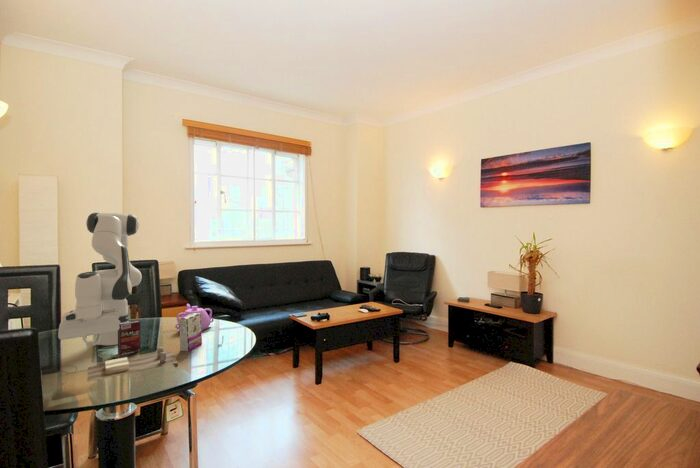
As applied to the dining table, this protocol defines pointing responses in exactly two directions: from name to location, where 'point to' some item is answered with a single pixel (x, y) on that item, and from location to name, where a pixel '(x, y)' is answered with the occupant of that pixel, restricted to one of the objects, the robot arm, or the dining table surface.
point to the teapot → (204, 316)
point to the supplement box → (129, 337)
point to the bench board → (135, 365)
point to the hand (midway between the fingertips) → (90, 346)
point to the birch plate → (116, 365)
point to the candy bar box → (190, 331)
